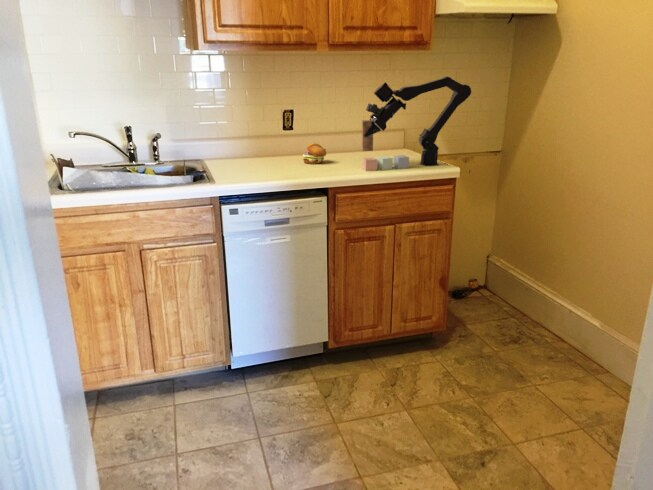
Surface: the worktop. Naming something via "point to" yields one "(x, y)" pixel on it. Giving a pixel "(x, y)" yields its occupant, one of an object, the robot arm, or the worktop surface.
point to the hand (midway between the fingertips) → (364, 135)
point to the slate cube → (401, 162)
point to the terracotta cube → (370, 164)
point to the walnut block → (367, 141)
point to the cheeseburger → (314, 154)
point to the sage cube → (384, 163)
